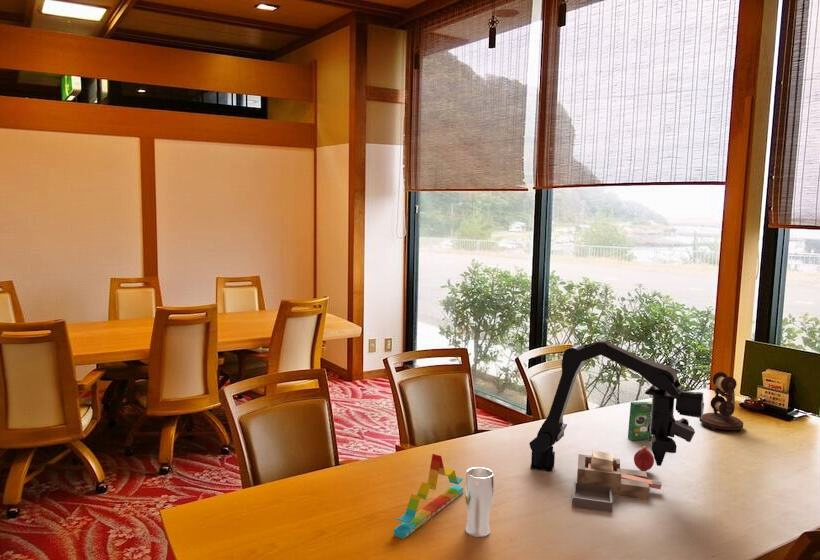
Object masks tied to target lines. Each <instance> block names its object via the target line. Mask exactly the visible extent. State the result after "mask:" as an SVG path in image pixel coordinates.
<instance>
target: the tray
mask: <svg viewBox="0 0 820 560" xmlns="http://www.w3.org/2000/svg"><path fill="white" fill-rule="evenodd" d="M571 501H572V502H571V503H572V504H571V505H572V506H571V508H576V509H577V508H579V509H586V510H593V511H599V512H607V513H613V503H614V502H613V495H612V487H607V486H599V485H592V484H584V483H577V481H576V482H575V481H574V482H573V489H572V500H571Z"/></svg>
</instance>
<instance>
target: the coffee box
mask: <svg viewBox="0 0 820 560" xmlns="http://www.w3.org/2000/svg"><path fill="white" fill-rule="evenodd" d="M629 407H630V408H629V419H628V420H629V421H628V430H627V439H628V440H630V441H643V440H646V441H647V440H648V441H649V438H648V436H652V434H651V433H650V431H649V432H647V422H649V421H650V420H651V415H650V413H651V411H652V401H631V402H630V406H629Z"/></svg>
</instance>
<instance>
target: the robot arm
mask: <svg viewBox="0 0 820 560" xmlns="http://www.w3.org/2000/svg"><path fill="white" fill-rule="evenodd" d="M598 356H603V357H605V358H607V359H609V360H611V361H613V362H614V363H617V364H618V365H621V366H623V367H624V368H627V369H629V370H631V371H632V372H635V373H637V374H638V375H640V376H641V377H643V378H644V379H645V381H647V382H648V383H649V384H650V385H651V386H650V387H649V388H648V389H646V391H645V392H644V394H645V395H648V396H652V399H651V402H652V411H651V413H650V415H651V420H650V421H649V422H647V432H649V431H650V433H651V434H652V436H648V438H649V439H648V442H649V446H650V449H651V451H652V452H651V453H652V455H653V457H654V462H655V463H656V466H658V467H661V466H662V464H663V462H664V458H665V456H666V453H671V454H676V453H677V446H678V445H677V444H676V443H677V442H676V441H675V440H674V439H673V438H675V436H676V437H678V438H681V439H683V440H685V441H686V442H688V443H691V441H692V439H693V438H694V435H695V434H696V431H695V428H694V427H692V425H689V424H690V423H689V420H688V419H687V418H684V417H682V418H680V419H679V420H677V419H676V418H675V417H674V410H675V411H677V413H678V414H679V415H680V416H685V417H692V418H697V419H699V418H702V416H703V414H704V410H705V403H704V392H699V391H690V390H689V391H688V390H684V387H683V386H682V384H681V382H680V380H679V379H678V374H677V371H676V369H675V368H674V367H672V366H670V365H667V364H664V363H660V362H656V361H650V360H647V359H645V358H643V357H640V356H639V355H636V354H635V353H633V352H631V351H628V350H626V349H625V348H622V347H620V346H618V345H616V344H614V343H612V342H610V341H609V340H607V339H605V338H603V339H600V340H598V341H594V342H591V343H587V344H584V345H582V344H574V345H572V346H569V348H567V349H565V350H564V351H563V354H562V360H561V376H560V378H559V382H558V385H557V388H556V391H555V394H554V397H553V400H552V403H551V406H550V410H549V412H548V415H547V417H546V419H545V420H544V422H543V423H542V425H541V426H540V428H539V430H538V431H537V435H536V437H534V438H533V439H532V440H531V441H530V442H529V443H528V445H529V448H530V450H531V460H530V461H531V462H530V466H529V468H530V469H532V470H538V471H539V470H540V471H546V472H553V468H555V463H556V461H555V458H556V452H555V451H554V445H555V444H556V443H558V442H559V441H560V440H561V439H562V438H563V437H564V436H565V430H566V428H567V426H568V424H567V423H564V415H565V412H566V408H567V406H568V402H569V399H570V396H571V394H572V390H573V387H574V384H575V381H576V378H577V376H578V374H579V373H580V371H581V370H582V368H583V367H584V365H585V363H586V362H587V361H588V360H591V359H593V358H595V357H598ZM674 406H675V407H674ZM674 408H675V409H674Z"/></svg>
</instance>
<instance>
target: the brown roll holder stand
mask: <svg viewBox="0 0 820 560" xmlns="http://www.w3.org/2000/svg"><path fill="white" fill-rule="evenodd" d="M712 383H713V384H714V386H715V388H714V389H713V391H714V394H715V395H714V397H712V399H711V401H710V407H711V408H712V409H713V410H712V411H713V412H705V413H703V416H702V418H698V419H699V422H700V423H701V424H703V425H706V426H708V427H711V429H712V431H716V429H721V430H730V431H732V430H738V432H741V431H742V429H743V427H744V422H743V421H742V420H740V418H738V417H737V416H734V415H733V414H734V412H735V409H736V405H735V403H736V400H735V399H736V397H735V395H736V394H735V389H736V388H737V385H738V384H737V380H736V379H735V378H734V377H733V376H728V374H726V372H723V371H718V372H716V373H714V374H713V377H712Z"/></svg>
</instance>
